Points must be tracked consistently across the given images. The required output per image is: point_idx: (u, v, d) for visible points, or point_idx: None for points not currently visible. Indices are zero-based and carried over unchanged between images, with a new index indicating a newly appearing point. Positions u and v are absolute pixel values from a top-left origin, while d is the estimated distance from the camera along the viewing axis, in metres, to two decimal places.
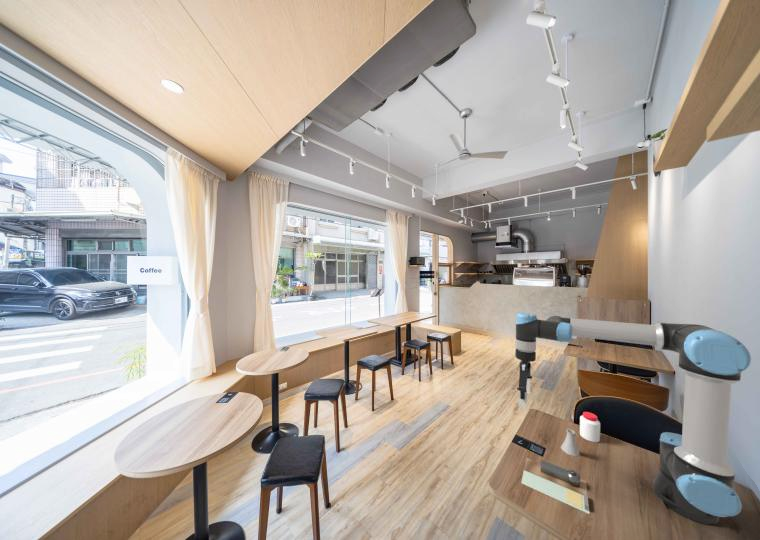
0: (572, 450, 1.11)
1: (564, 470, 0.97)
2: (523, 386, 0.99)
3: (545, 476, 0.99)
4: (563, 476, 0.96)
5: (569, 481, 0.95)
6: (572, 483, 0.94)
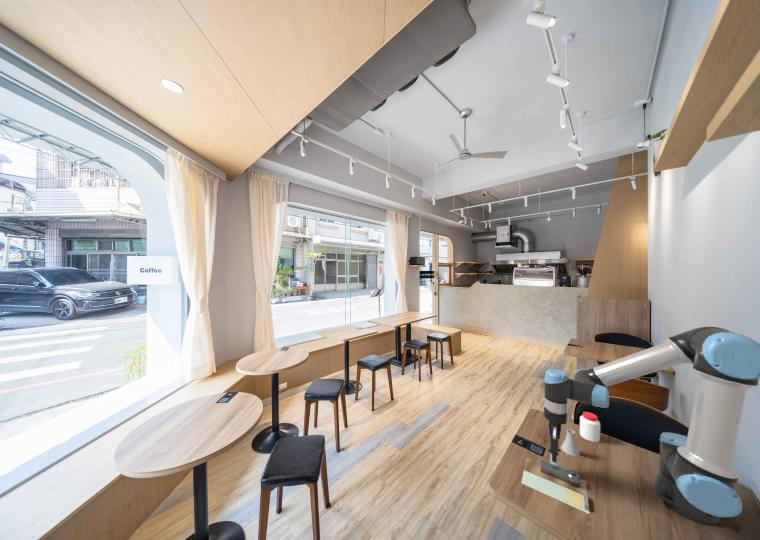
0: (572, 450, 1.11)
1: (564, 470, 0.97)
2: (555, 452, 0.98)
3: (545, 476, 0.99)
4: (563, 476, 0.96)
5: (569, 481, 0.95)
6: (572, 483, 0.94)
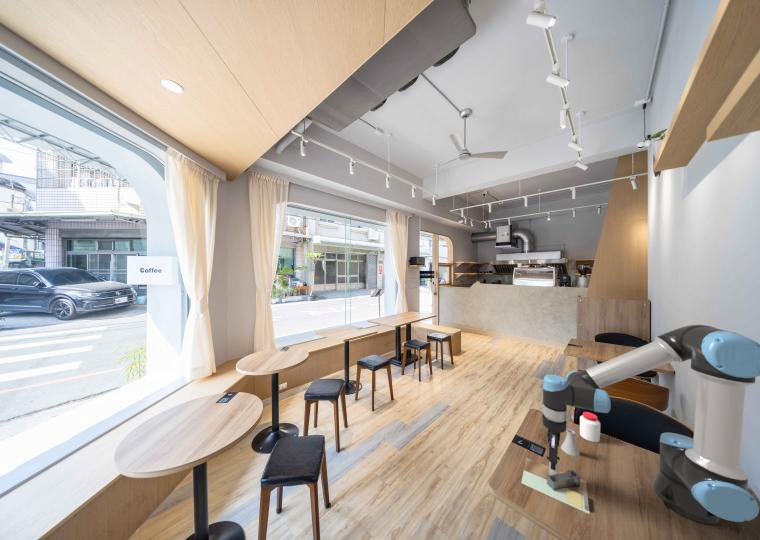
0: (572, 450, 1.11)
1: (567, 475, 0.95)
2: (554, 460, 0.94)
3: (545, 476, 0.99)
4: (570, 482, 0.94)
5: (574, 484, 0.94)
6: (577, 485, 0.94)
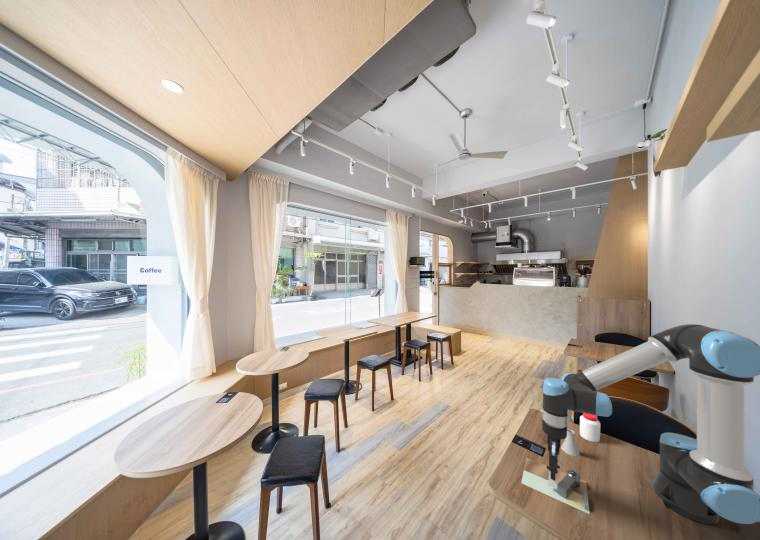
0: (572, 450, 1.11)
1: (570, 477, 0.94)
2: (554, 469, 0.89)
3: (545, 476, 0.99)
4: (574, 484, 0.93)
5: (577, 484, 0.94)
6: (579, 484, 0.94)
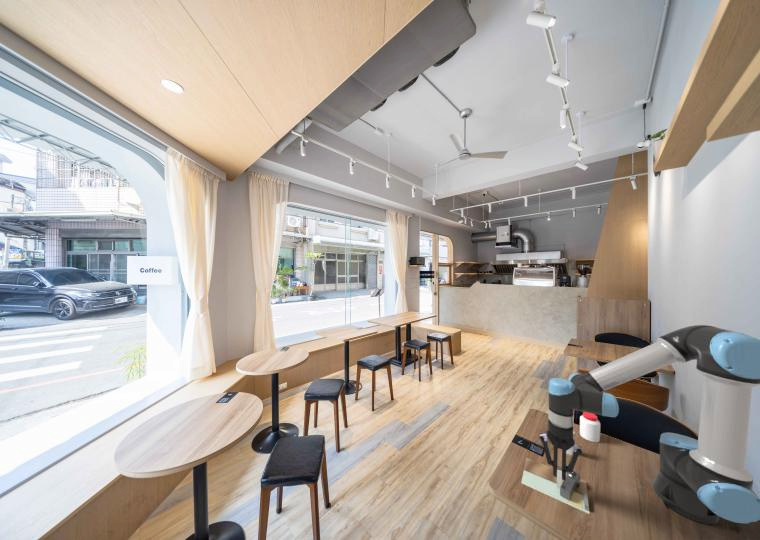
0: (572, 450, 1.11)
1: (571, 478, 0.94)
2: None
3: (545, 476, 0.99)
4: (575, 484, 0.93)
5: (577, 484, 0.94)
6: (579, 484, 0.94)
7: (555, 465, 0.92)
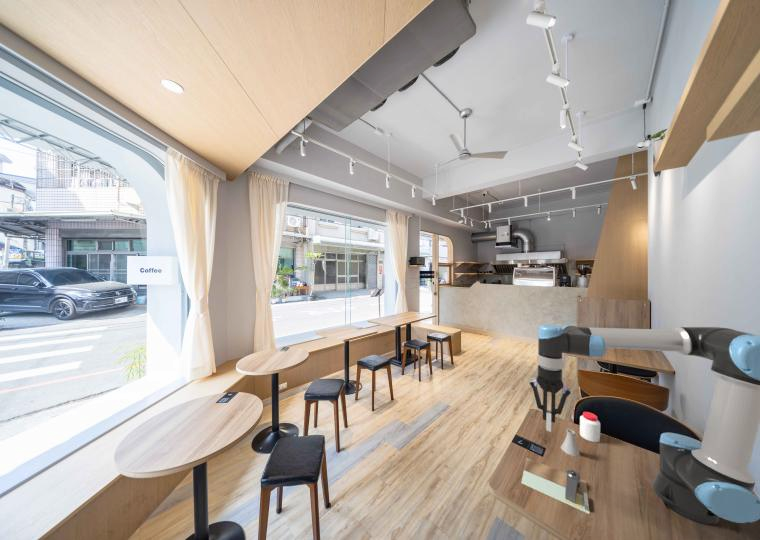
0: (572, 450, 1.11)
1: (572, 479, 0.94)
2: None
3: (545, 476, 0.99)
4: (577, 484, 0.93)
5: (578, 484, 0.94)
6: (579, 484, 0.94)
7: (545, 408, 0.94)
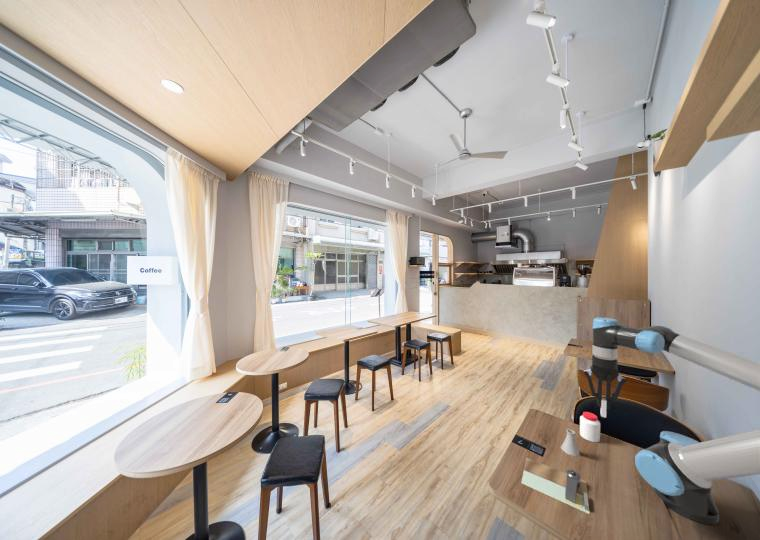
0: (572, 450, 1.11)
1: (572, 479, 0.94)
2: (591, 391, 1.02)
3: (545, 476, 0.99)
4: (577, 484, 0.93)
5: (578, 484, 0.94)
6: (579, 484, 0.94)
7: (599, 396, 1.00)
